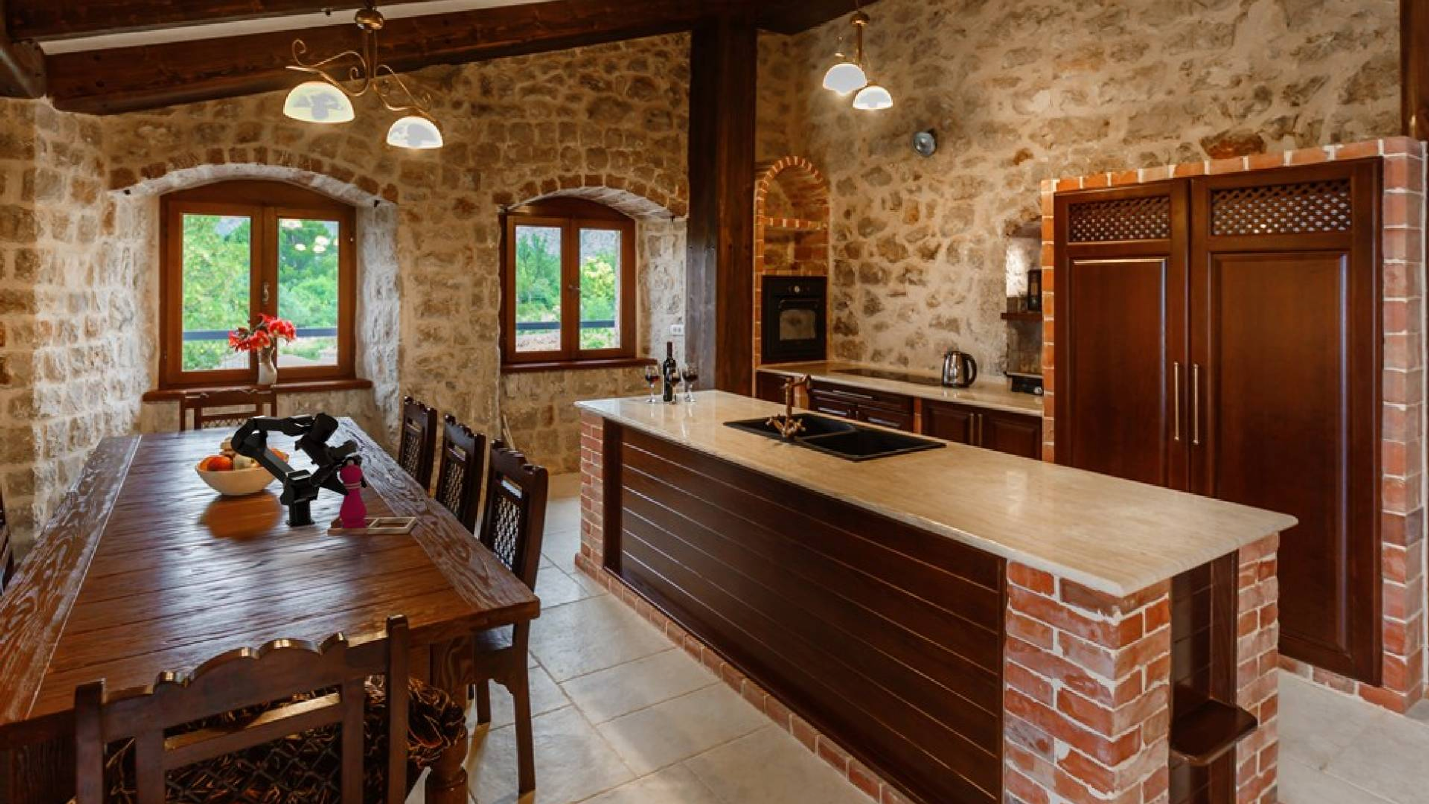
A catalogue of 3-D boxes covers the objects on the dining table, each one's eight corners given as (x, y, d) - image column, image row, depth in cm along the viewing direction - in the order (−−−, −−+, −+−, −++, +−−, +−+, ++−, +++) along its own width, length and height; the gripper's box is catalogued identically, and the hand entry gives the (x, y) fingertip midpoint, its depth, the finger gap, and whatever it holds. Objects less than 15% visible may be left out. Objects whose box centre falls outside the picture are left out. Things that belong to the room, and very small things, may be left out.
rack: (327, 534, 227) (326, 524, 227) (341, 523, 238) (340, 513, 238) (406, 533, 230) (406, 522, 229) (416, 522, 241) (416, 512, 240)
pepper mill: (357, 532, 229) (353, 463, 227) (334, 531, 231) (330, 461, 228) (372, 525, 236) (369, 457, 234) (350, 524, 238) (347, 456, 235)
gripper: (317, 438, 221) (357, 480, 221) (355, 426, 239) (392, 465, 240) (291, 465, 223) (331, 506, 223) (331, 452, 241) (368, 490, 242)
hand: (357, 491), depth 232 cm, fingers open, 9 cm apart
